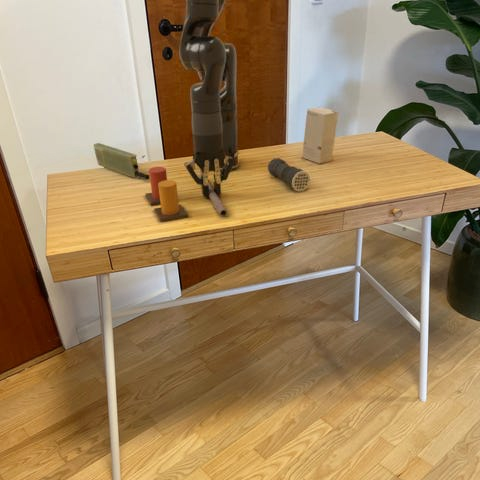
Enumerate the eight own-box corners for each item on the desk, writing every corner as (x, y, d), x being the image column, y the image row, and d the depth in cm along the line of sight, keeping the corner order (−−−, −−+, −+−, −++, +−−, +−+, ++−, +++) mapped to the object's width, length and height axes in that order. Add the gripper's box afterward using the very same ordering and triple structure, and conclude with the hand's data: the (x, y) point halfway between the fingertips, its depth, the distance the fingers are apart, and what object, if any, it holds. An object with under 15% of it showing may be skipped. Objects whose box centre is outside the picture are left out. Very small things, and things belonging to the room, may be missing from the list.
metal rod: (220, 217, 114) (219, 209, 113) (198, 180, 135) (197, 173, 134) (227, 216, 114) (227, 208, 113) (204, 179, 135) (204, 173, 134)
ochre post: (154, 211, 118) (149, 180, 113) (180, 206, 120) (177, 176, 115) (160, 222, 113) (156, 190, 108) (188, 217, 114) (184, 185, 110)
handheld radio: (105, 162, 150) (153, 179, 136) (96, 165, 148) (144, 183, 134) (100, 141, 146) (149, 157, 132) (91, 144, 144) (140, 160, 130)
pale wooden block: (301, 158, 149) (304, 108, 140) (315, 154, 152) (318, 105, 143) (320, 164, 144) (324, 113, 135) (333, 160, 146) (338, 110, 138)
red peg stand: (145, 196, 126) (141, 167, 121) (170, 192, 128) (167, 163, 123) (151, 205, 121) (146, 175, 116) (176, 201, 123) (173, 171, 118)
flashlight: (265, 176, 137) (266, 157, 133) (281, 173, 138) (282, 154, 135) (292, 193, 125) (293, 173, 122) (309, 189, 127) (310, 170, 124)
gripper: (228, 123, 119) (231, 188, 129) (176, 129, 115) (183, 196, 126) (238, 130, 113) (240, 197, 124) (184, 137, 110) (190, 206, 120)
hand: (211, 196), depth 125 cm, fingers closed on metal rod, 2 cm apart
